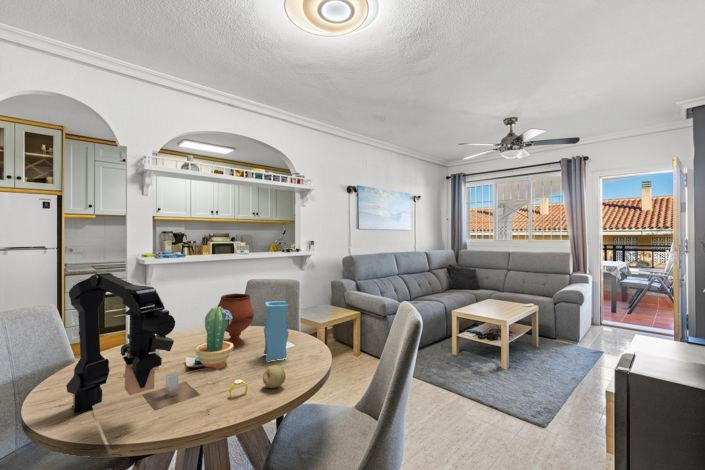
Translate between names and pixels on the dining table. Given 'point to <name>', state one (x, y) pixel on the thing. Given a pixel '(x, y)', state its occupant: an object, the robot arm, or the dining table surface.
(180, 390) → the board
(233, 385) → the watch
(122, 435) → the dining table surface
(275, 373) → the fruit
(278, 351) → the vase
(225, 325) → the potted cactus
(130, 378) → the salmon pink rectangular prism
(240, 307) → the brown clay urn
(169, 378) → the post
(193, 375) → the dining table surface
